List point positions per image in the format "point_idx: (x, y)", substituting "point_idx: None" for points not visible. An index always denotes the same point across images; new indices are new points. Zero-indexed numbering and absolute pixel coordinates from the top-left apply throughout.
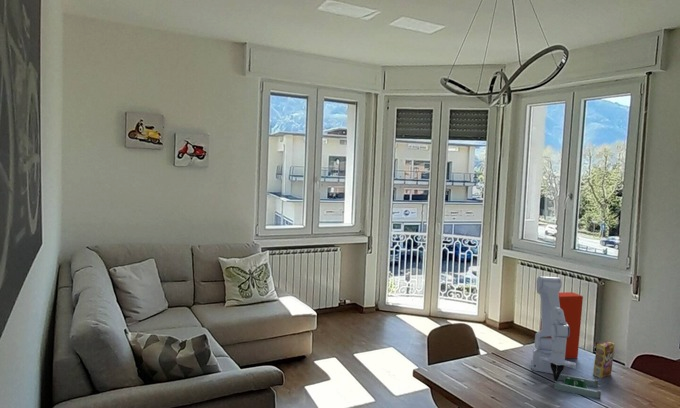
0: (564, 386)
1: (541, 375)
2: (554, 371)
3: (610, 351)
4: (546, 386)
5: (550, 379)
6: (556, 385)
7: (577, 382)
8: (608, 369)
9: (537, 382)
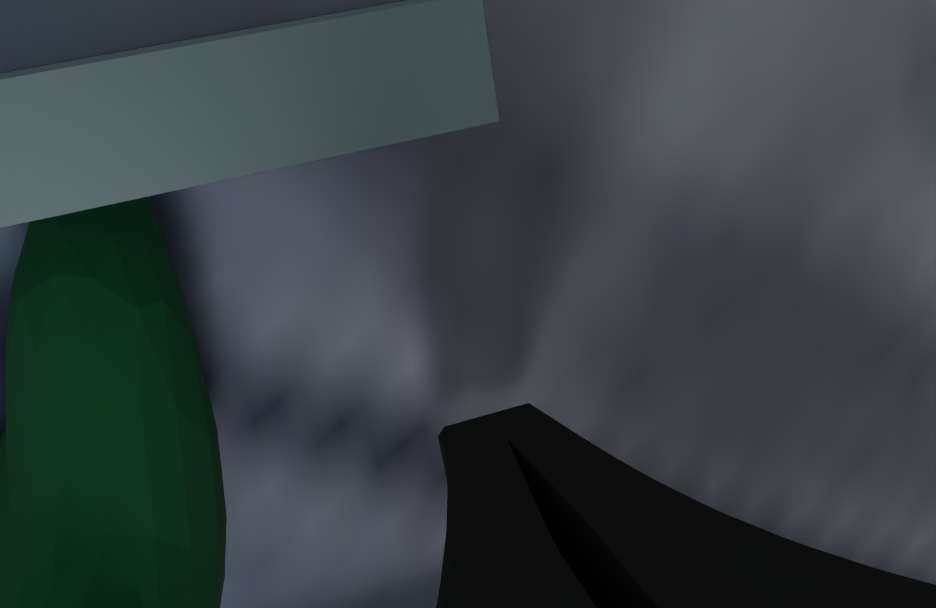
0: (72, 66)
1: None
2: (754, 587)
3: None
4: (665, 35)
5: None
6: (401, 3)
7: None
8: None
9: (883, 147)
